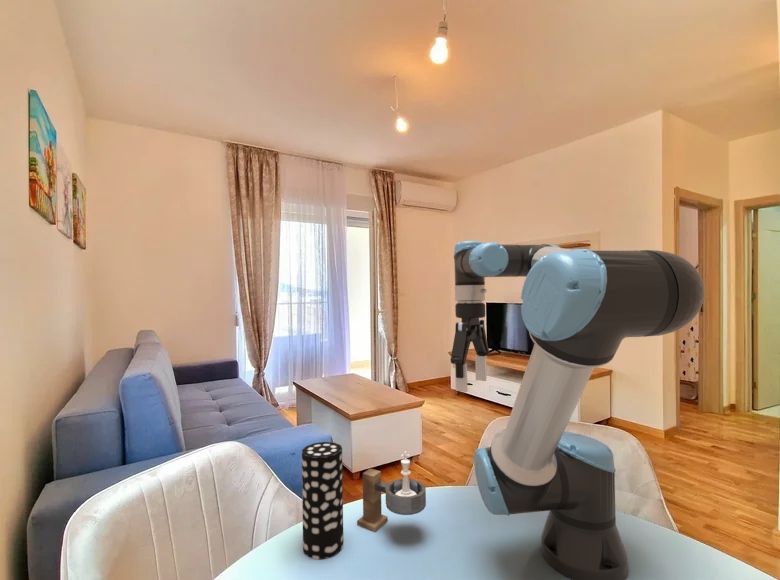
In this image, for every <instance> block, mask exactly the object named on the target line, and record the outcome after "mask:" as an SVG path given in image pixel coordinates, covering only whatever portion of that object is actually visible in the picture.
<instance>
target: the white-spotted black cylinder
mask: <svg viewBox="0 0 780 580" xmlns="http://www.w3.org/2000/svg"><path fill="white" fill-rule="evenodd" d="M301 481H302V482H301V483H302V484H301V485H302V486H301V491H302V492H301V493H302V494H301V495H302V496H301V498H302V500H301V501H302V505H301V506H302V551H303V553H304V554H305V556H306V557H307V558H310V559H313V560H325V559H329V558H332V557H335V556H336V555H338V554H339V553H340V552H341V551H342V549H344V506H343V505H344V491H343V490H344V489H343V485H344V484H343V447H342V445H341V444H339V443H337V442H331V441H323V442H322V441H319V442H315V443H311V444H308V445H306V446H305V447H303V448H302V450H301Z"/></svg>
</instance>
